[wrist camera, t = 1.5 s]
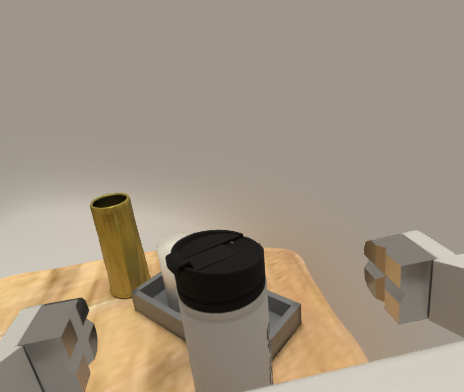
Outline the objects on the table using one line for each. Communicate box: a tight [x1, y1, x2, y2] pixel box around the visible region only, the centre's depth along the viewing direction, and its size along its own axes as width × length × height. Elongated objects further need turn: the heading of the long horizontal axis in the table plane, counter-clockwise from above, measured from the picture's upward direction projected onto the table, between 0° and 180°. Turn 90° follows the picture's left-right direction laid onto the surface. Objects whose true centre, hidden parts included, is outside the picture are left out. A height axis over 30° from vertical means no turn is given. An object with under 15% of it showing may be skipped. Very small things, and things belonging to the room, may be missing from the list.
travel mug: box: [165, 230, 273, 392], centre depth 26 cm, size 6×7×20 cm
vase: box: [90, 193, 151, 298], centre depth 49 cm, size 6×6×14 cm
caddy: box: [131, 272, 301, 360], centre depth 44 cm, size 20×10×3 cm, turn 51°
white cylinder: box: [156, 232, 191, 312], centre depth 45 cm, size 5×5×9 cm
